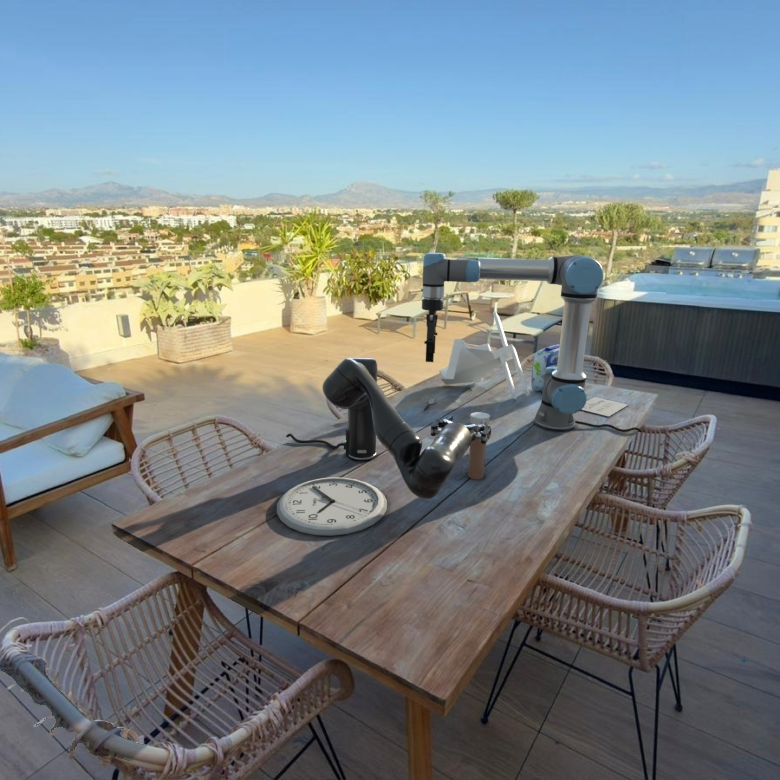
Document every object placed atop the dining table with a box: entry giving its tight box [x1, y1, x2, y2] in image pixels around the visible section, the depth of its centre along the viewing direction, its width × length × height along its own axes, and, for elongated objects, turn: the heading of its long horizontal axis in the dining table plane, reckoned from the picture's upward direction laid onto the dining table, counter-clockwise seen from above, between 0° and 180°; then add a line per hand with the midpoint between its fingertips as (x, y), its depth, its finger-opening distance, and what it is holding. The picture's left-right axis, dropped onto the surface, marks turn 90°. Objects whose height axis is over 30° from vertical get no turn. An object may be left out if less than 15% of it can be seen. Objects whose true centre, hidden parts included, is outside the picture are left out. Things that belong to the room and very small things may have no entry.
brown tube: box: [467, 422, 489, 480], centre depth 158 cm, size 5×5×19 cm
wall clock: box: [276, 476, 388, 537], centre depth 142 cm, size 30×2×30 cm
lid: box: [469, 411, 491, 426], centre depth 156 cm, size 6×6×2 cm
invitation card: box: [580, 396, 629, 418], centre depth 226 cm, size 21×1×15 cm
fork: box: [422, 395, 437, 412], centre depth 223 cm, size 3×16×2 cm, turn 160°
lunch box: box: [530, 344, 560, 393], centre depth 247 cm, size 26×11×21 cm, turn 134°
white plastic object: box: [438, 310, 531, 400], centre depth 245 cm, size 37×45×31 cm
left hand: (467, 421), depth 135 cm, fingers open, 8 cm apart
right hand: (430, 357), depth 190 cm, fingers open, 13 cm apart
